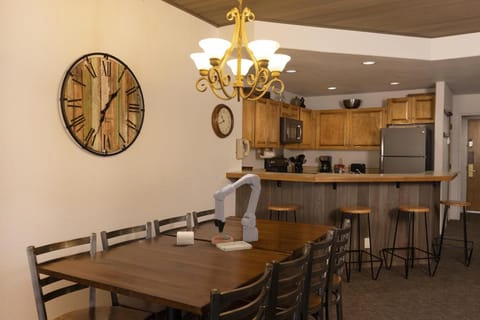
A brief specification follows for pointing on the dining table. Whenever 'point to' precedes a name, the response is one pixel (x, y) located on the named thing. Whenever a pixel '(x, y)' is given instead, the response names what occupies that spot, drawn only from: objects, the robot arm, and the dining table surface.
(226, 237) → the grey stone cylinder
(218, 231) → the pebble
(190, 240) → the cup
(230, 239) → the bowl
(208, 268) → the dining table surface
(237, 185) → the robot arm
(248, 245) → the tray
